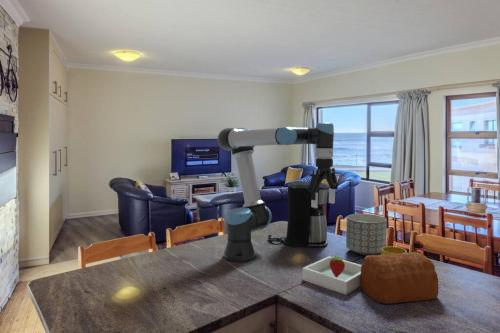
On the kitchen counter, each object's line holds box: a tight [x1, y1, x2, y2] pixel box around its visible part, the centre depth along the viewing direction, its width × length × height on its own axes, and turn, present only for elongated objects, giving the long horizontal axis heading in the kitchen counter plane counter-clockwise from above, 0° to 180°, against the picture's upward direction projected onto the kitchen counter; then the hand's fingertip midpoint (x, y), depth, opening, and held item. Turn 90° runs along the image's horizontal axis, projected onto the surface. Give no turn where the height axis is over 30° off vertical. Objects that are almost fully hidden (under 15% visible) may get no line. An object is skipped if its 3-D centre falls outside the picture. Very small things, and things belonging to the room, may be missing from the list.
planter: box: [345, 213, 388, 257], centre depth 177 cm, size 19×19×18 cm
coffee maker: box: [267, 180, 331, 248], centre depth 194 cm, size 23×32×34 cm
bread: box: [360, 251, 439, 305], centre depth 132 cm, size 17×24×15 cm
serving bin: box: [302, 256, 362, 296], centre depth 145 cm, size 20×20×5 cm
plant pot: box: [380, 245, 408, 255], centre depth 153 cm, size 10×10×10 cm
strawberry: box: [330, 253, 346, 277], centre depth 144 cm, size 6×8×10 cm
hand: (323, 205), depth 157 cm, fingers open, 13 cm apart
